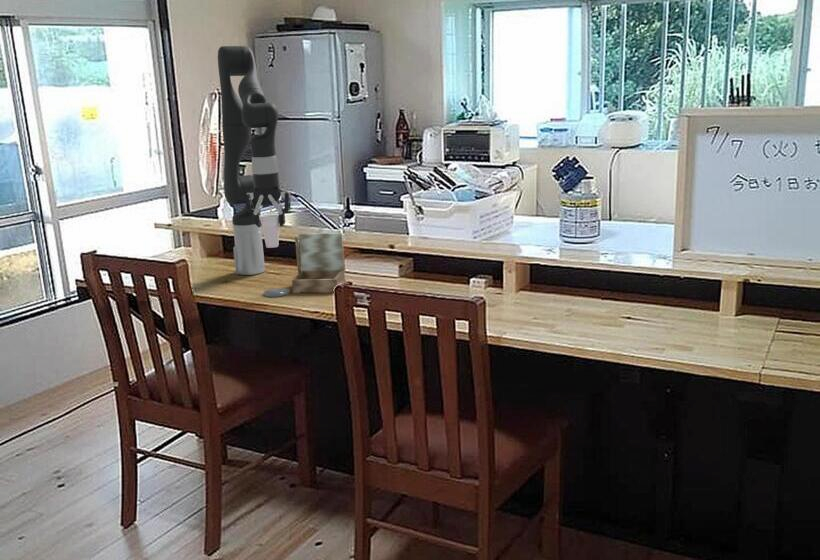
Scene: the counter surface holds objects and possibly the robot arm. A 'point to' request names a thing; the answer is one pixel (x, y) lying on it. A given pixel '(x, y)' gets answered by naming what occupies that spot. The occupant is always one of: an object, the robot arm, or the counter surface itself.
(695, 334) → the counter surface
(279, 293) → the coaster
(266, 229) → the smoothie
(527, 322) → the counter surface
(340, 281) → the cold frame
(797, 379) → the counter surface
